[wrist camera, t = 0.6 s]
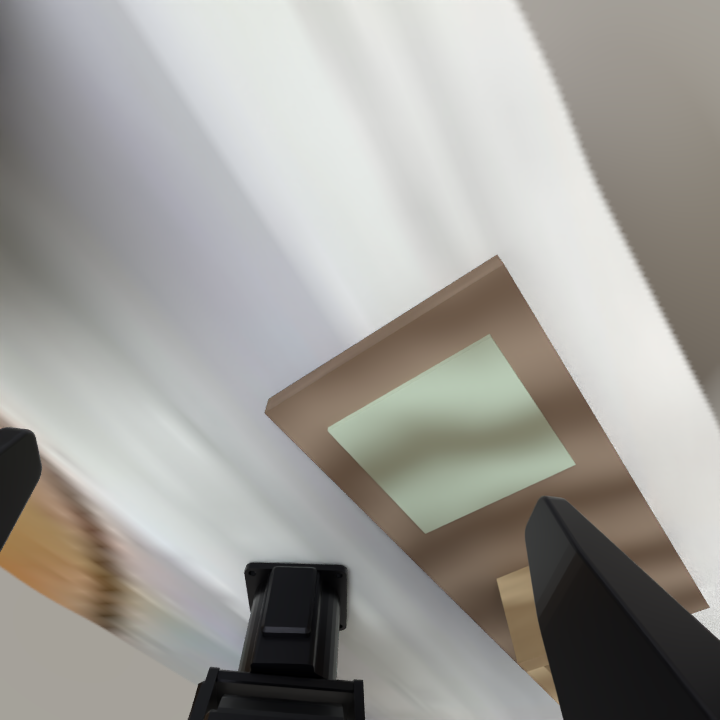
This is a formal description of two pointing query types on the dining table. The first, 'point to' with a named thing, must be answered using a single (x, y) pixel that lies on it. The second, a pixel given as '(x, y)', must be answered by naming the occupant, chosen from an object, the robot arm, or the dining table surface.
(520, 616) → the collar
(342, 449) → the board
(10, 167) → the dining table surface
